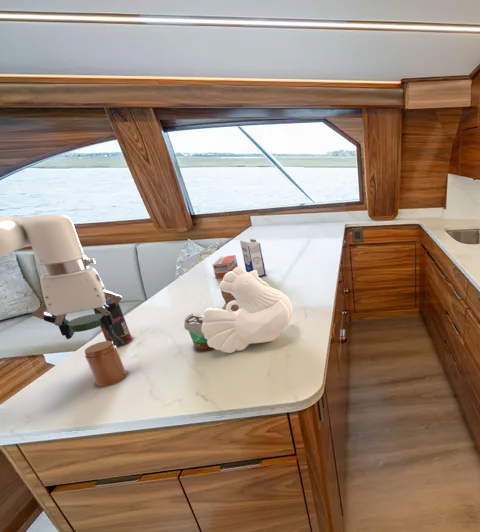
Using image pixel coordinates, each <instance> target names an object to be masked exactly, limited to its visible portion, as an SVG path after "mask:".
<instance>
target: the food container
mask: <svg viewBox="0 0 480 532" xmlns="http://www.w3.org/2000/svg"><path fill="white" fill-rule="evenodd" d="M202 324H203V320H202V316H197V315H196V316H195V315H194V313H191V314H189V315H187V316H186V318H185V319H184V322H183V327H184V329H185V330H186V331H188V333H189V336H190V338H191V340H192V341H191V342H192V343H193V345H194V348H195V350H196V351H199V352H208V351H212V350H215V349H214V348H212V347H209V346H208V344H207V339H205V337H204V334H203V333H202V331H201V328H202Z"/></svg>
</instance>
